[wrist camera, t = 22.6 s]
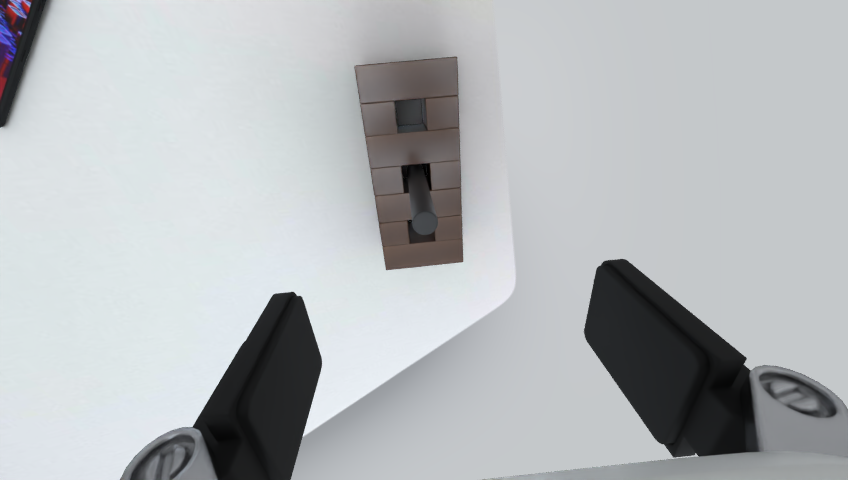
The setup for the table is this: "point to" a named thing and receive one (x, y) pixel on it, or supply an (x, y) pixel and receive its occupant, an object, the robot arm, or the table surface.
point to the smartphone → (15, 45)
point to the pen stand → (414, 156)
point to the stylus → (421, 201)
